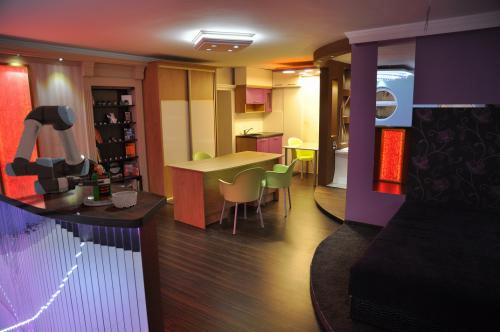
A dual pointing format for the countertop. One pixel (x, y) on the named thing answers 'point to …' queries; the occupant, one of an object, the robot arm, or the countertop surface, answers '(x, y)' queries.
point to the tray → (90, 201)
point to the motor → (101, 186)
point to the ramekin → (124, 199)
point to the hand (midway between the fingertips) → (106, 179)
